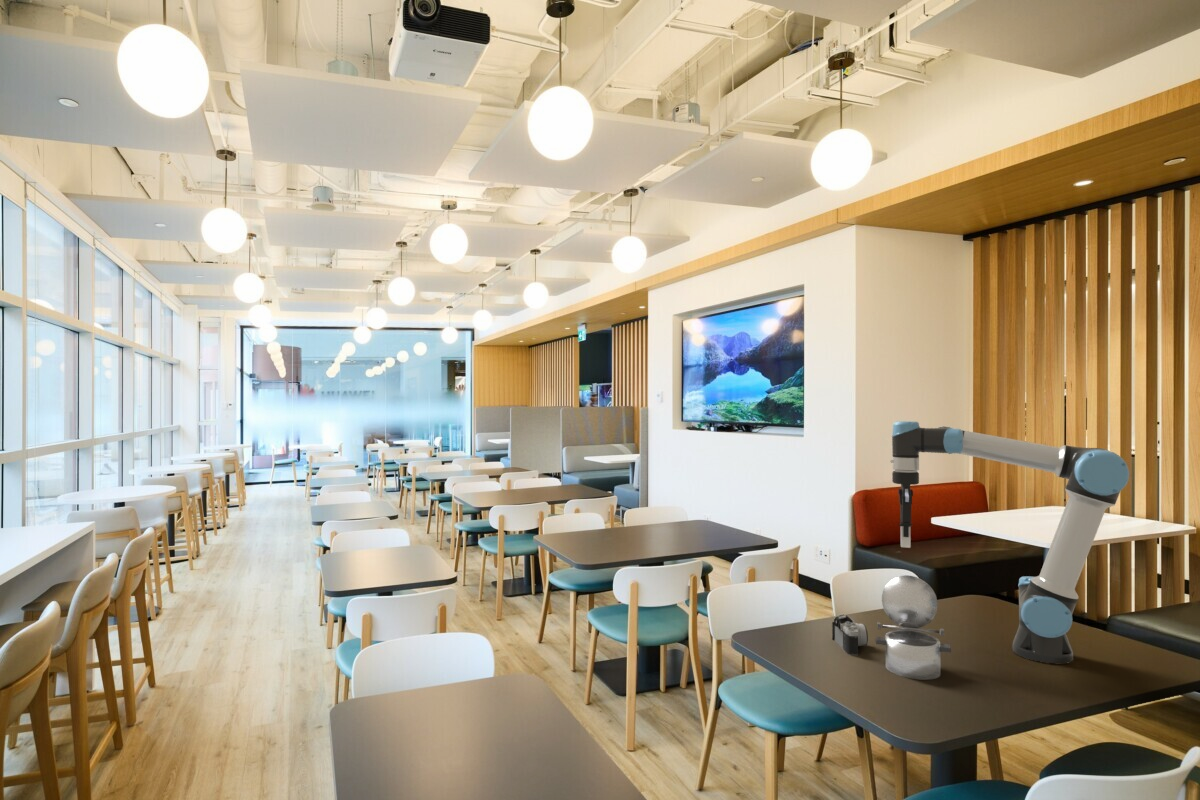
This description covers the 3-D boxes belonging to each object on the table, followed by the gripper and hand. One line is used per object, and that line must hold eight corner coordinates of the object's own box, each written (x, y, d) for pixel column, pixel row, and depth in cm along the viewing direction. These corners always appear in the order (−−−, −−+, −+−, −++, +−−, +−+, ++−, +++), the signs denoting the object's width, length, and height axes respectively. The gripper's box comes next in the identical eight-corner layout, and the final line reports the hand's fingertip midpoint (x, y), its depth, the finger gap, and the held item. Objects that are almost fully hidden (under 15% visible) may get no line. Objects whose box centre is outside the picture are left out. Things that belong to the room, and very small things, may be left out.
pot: (954, 685, 179) (953, 647, 179) (877, 676, 185) (876, 638, 185) (946, 664, 193) (945, 629, 193) (875, 656, 200) (874, 621, 200)
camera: (874, 657, 199) (874, 624, 199) (844, 657, 199) (844, 623, 200) (857, 639, 215) (856, 608, 215) (828, 639, 215) (828, 608, 215)
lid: (937, 577, 197) (936, 577, 199) (881, 573, 202) (880, 573, 204) (939, 633, 193) (938, 633, 195) (881, 627, 198) (881, 627, 201)
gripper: (891, 468, 215) (891, 542, 215) (893, 472, 203) (893, 550, 203) (916, 469, 213) (917, 543, 212) (920, 473, 200) (920, 552, 200)
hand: (905, 546), depth 208 cm, fingers closed
